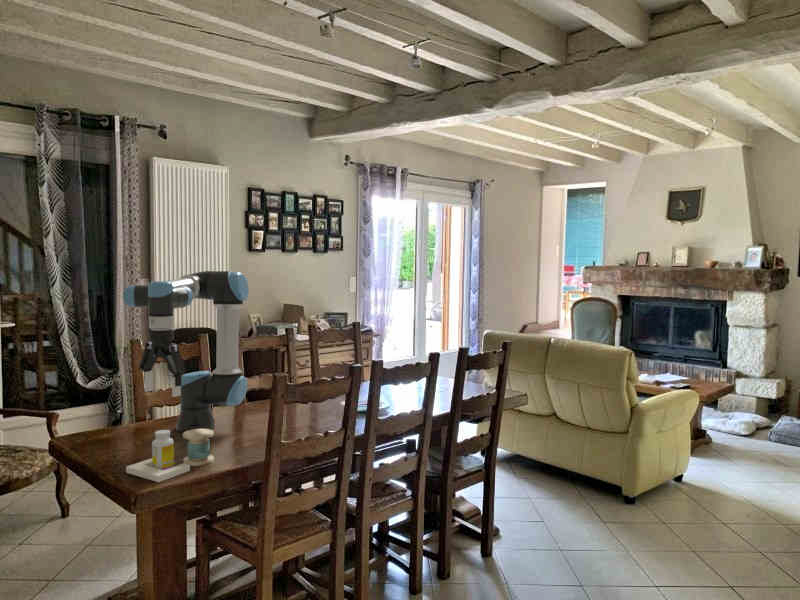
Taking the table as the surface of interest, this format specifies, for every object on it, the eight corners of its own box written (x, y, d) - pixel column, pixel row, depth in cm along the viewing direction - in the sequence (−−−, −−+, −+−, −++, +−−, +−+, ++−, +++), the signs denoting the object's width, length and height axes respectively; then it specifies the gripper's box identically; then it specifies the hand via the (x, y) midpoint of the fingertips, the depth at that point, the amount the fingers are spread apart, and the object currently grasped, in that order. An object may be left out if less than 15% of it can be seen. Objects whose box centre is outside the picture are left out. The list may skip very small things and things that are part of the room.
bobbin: (200, 454, 212) (199, 427, 211) (220, 459, 207) (219, 431, 206) (176, 462, 203) (176, 433, 202) (197, 468, 198) (196, 438, 197)
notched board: (157, 462, 204) (157, 456, 203) (189, 470, 196) (189, 464, 195) (126, 472, 193) (126, 466, 193) (158, 482, 185) (158, 476, 185)
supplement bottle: (177, 466, 199) (177, 429, 198) (168, 473, 193) (168, 434, 192) (158, 466, 200) (157, 428, 199) (148, 473, 193) (147, 434, 192)
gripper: (126, 327, 196) (128, 390, 198) (177, 332, 184) (178, 400, 185) (146, 325, 203) (147, 386, 204) (197, 330, 190) (198, 395, 192)
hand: (162, 393), depth 195 cm, fingers open, 13 cm apart
